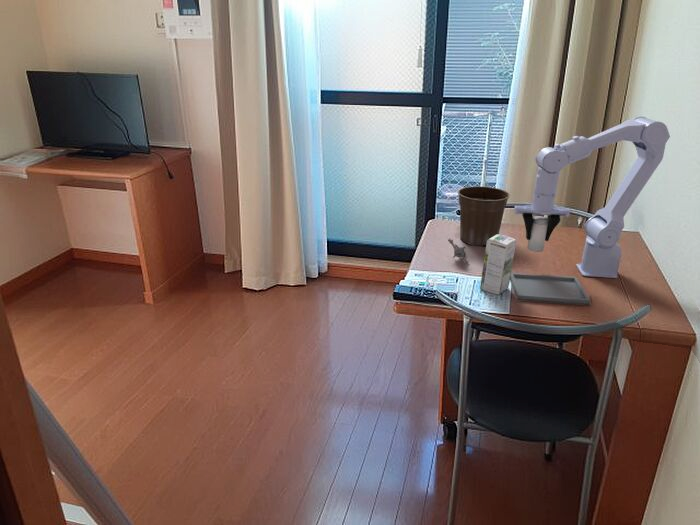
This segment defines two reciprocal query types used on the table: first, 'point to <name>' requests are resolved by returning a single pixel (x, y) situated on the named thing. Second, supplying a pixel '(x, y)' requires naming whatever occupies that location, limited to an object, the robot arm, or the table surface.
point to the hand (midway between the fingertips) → (537, 239)
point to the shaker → (538, 234)
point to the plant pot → (481, 213)
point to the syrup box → (497, 264)
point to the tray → (548, 289)
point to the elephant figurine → (459, 251)
